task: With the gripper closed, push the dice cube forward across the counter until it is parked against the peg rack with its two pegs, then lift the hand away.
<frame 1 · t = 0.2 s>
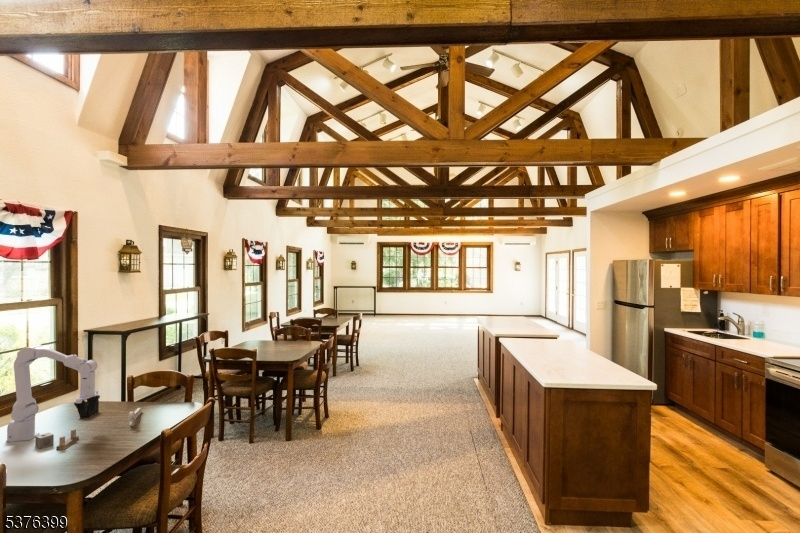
hand: (87, 413, 205), 10 cm above the table, tool pointing down, fingers open, 7 cm apart
digital camera: (88, 415, 232), on the table
dice cube: (44, 446, 191), on the table
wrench: (135, 421, 224), on the table
peg rack: (67, 444, 193), on the table
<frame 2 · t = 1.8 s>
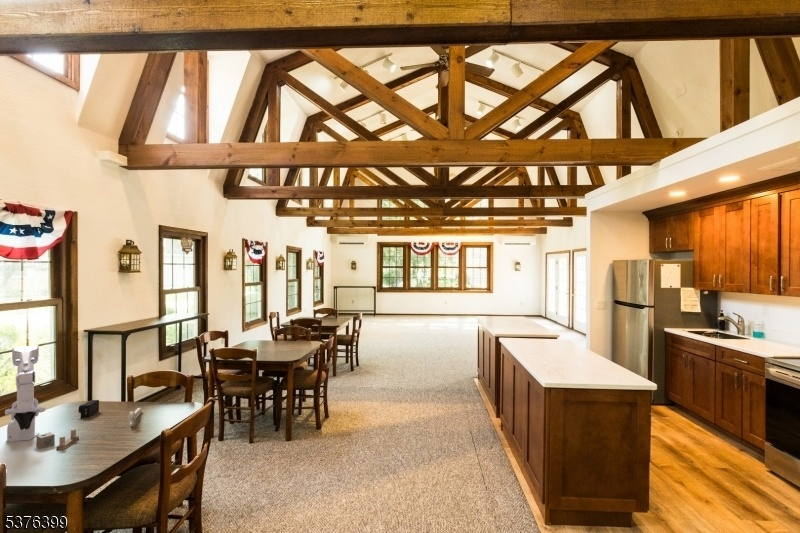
hand: (25, 428, 189), 8 cm above the table, tool pointing down, fingers closed
nothing on the table moved.
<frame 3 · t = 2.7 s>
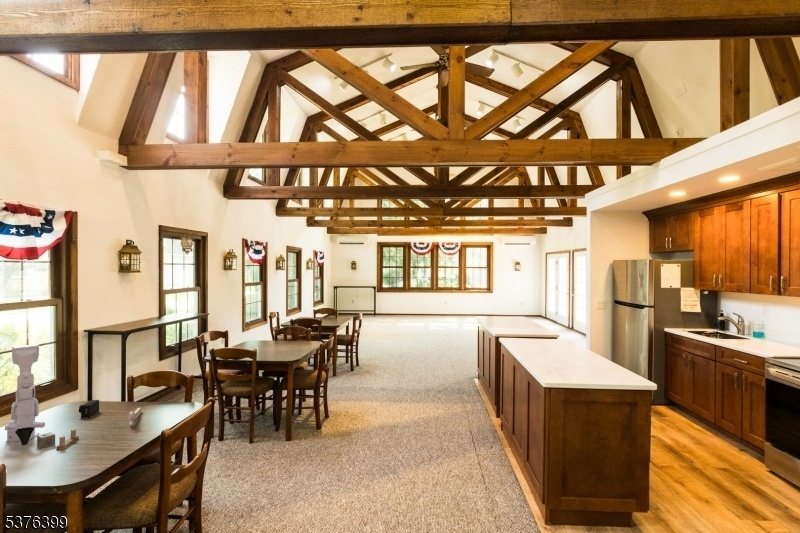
hand: (25, 444, 189), 1 cm above the table, tool pointing down, fingers closed
nothing on the table moved.
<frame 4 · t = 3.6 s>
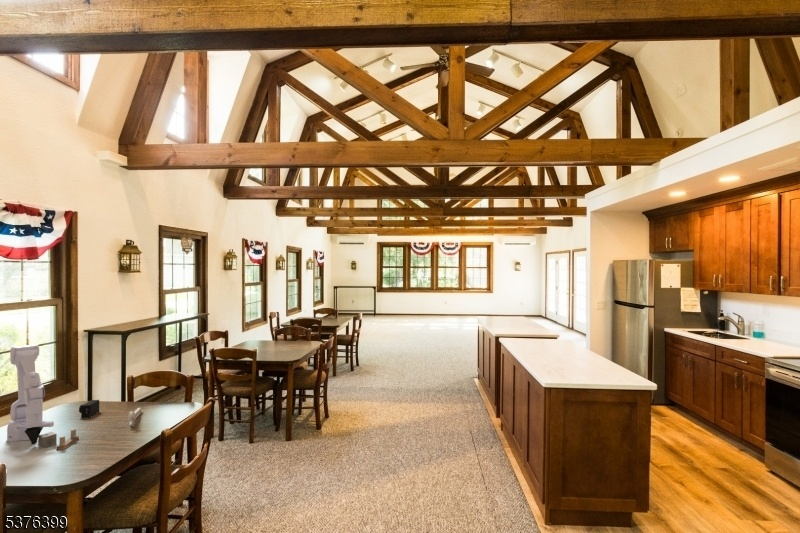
hand: (34, 443, 190), 1 cm above the table, tool pointing down, fingers closed
dice cube: (47, 445, 191), on the table, touching gripper
everything else where it was.
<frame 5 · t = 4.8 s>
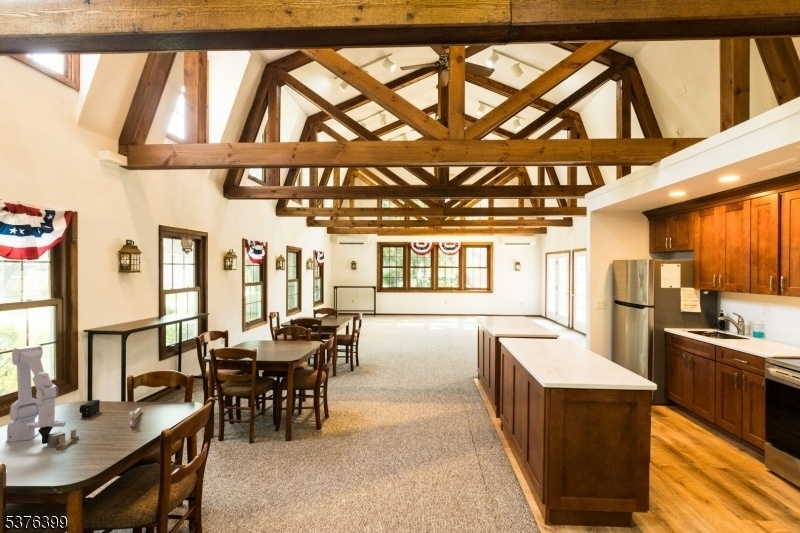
hand: (45, 443, 191), 1 cm above the table, tool pointing down, fingers closed, pressing on dice cube
dice cube: (56, 445, 192), on the table, touching gripper, peg rack
everything else where it was.
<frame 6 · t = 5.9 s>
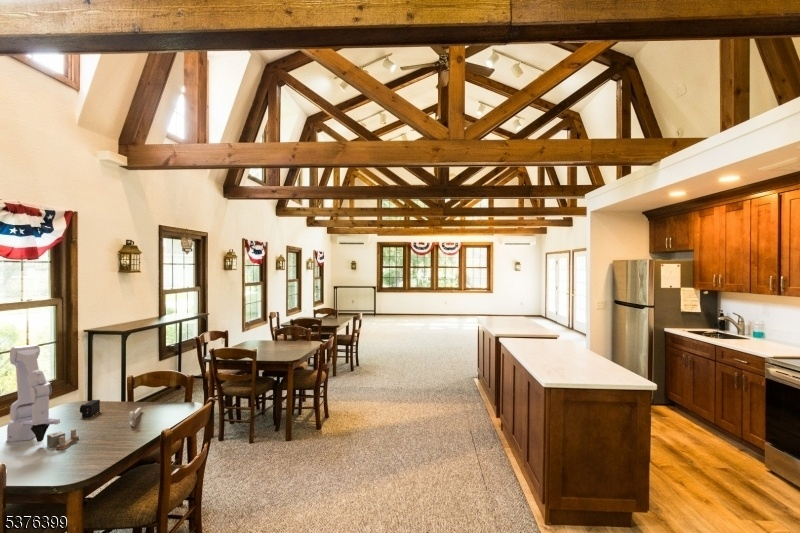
hand: (40, 440, 190), 2 cm above the table, tool pointing down, fingers closed
dice cube: (56, 445, 192), on the table
everything else where it was.
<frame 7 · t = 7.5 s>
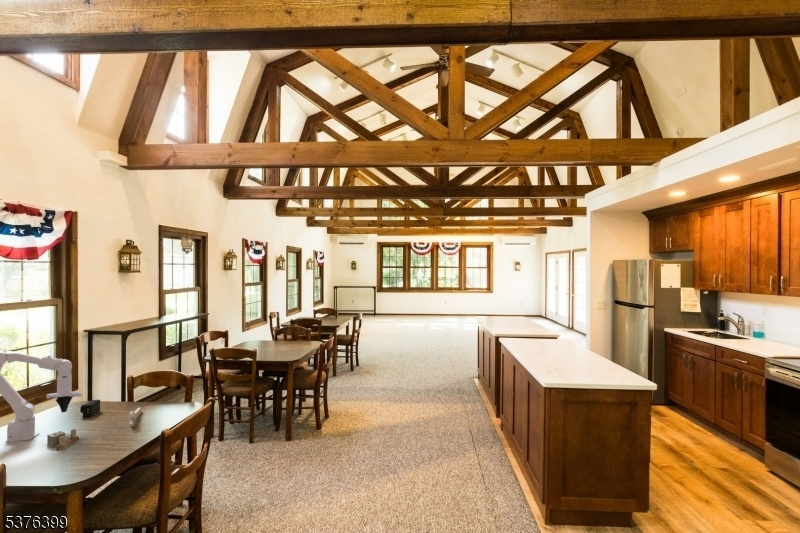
hand: (64, 411, 210), 9 cm above the table, tool pointing down, fingers closed
nothing on the table moved.
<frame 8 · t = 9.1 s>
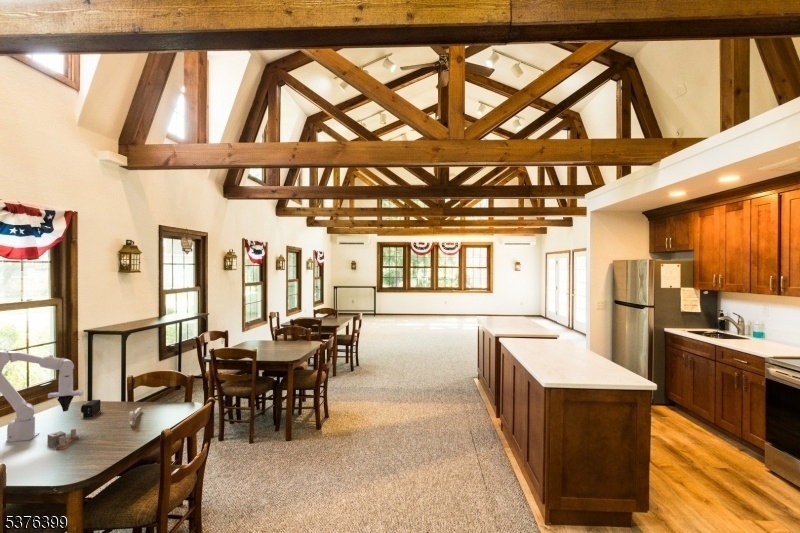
hand: (65, 410, 211), 9 cm above the table, tool pointing down, fingers closed
at the end: dice cube 1.3 cm from the target spot, on the table; dice cube moved 4.6 cm from its start; dice cube tilted 0° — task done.
